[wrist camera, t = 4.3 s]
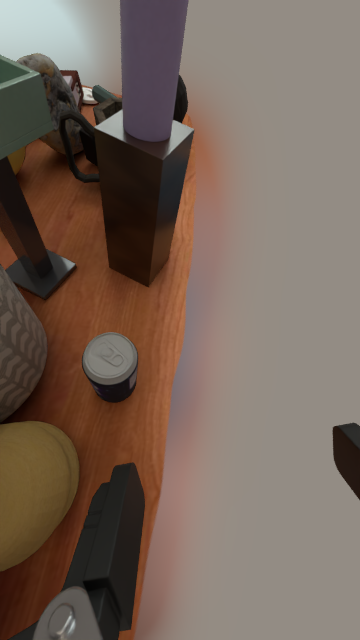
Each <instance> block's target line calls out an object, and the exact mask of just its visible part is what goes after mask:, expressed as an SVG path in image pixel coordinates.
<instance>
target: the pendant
mask: <svg viewBox="0 0 360 640" xmlns="http://www.w3.org/2000/svg"><path fill="white" fill-rule="evenodd" d="M82 89H83V93H84V97H83V100H82V103H86V104H96V103H98V102H97V101H95V100H94V98H93V96H92V89H89V88H83V87H82ZM89 97H90V98H89Z"/></svg>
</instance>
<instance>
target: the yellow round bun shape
mask: <svg viewBox="0 0 360 640" xmlns="http://www.w3.org/2000/svg"><path fill="white" fill-rule="evenodd" d="M78 483H79V460H78V456H77V452H76V449H75V447H74V445H73V443H72V441H71V440H70V439H69V438H68V436H67V435H66V434H65V433H64V432H63V431H61V430H60V429H58V428H57V427H55V426H54V425H51V424H48V423H45V422H38V421H25V422H15V423H9V424H2V425H0V571H4V570H6V569H8V568H11V567H13V566H15V565H17V564H19V563H21V562H23V561H24V560H25V559H27V558H28V557H29V556H31V555H32V554H33V553H35V552H36V551H37V550H38V549H39V548H40V547H41V546H42V545H43V543H44V542H45V541H46V540H47V539H48V538H49V537H50V536H51V534H52V533H53V531H54V529H55V528H56V527H57V526H58V525H59V524H60V522H61V521H62V520H63V518H64V516H65V515H66V513H67V512H68V510H69V508H70V507H71V505H72V503H73V500H74V497H75V495H76V492H77V488H78Z"/></svg>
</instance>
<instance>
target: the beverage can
mask: <svg viewBox="0 0 360 640" xmlns="http://www.w3.org/2000/svg"><path fill="white" fill-rule="evenodd" d="M82 367H83V370H84V372H85V374H86V376H87V378H88V379H89V381H90V383H91V384H92V386H93V388H94V390H95V391H96V393H97V395H98V396H99V397H100V398H101V399H103V400H104V401H107V402H112V403H115V402H120V401H123V400H125V399H126V398H128V397H129V396H130V395H131V394H132V392H133V391H134V389H135V386H136V378H137V367H138V352H137V349H136V347H135V346H134V344H133V343H132V342H131V341H130V340H129V339H128V338H126V337H125V336H123V335H121V334H118V333H113V332H109V333H103V334H100V335H98V336H96V337H95V338H94V339H92V340H91V341H90V343H89V344H88V345H87V347H86V349H85V351H84V353H83V357H82Z"/></svg>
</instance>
